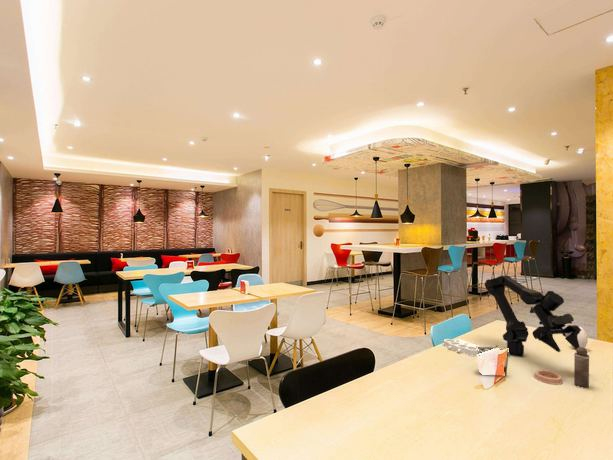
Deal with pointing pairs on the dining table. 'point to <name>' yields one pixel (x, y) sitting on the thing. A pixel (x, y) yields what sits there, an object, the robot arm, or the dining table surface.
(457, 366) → the dining table surface
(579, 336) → the egg
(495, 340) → the dining table surface
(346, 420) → the dining table surface
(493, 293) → the robot arm
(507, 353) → the food container
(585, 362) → the pepper mill
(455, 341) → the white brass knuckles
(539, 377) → the dish
